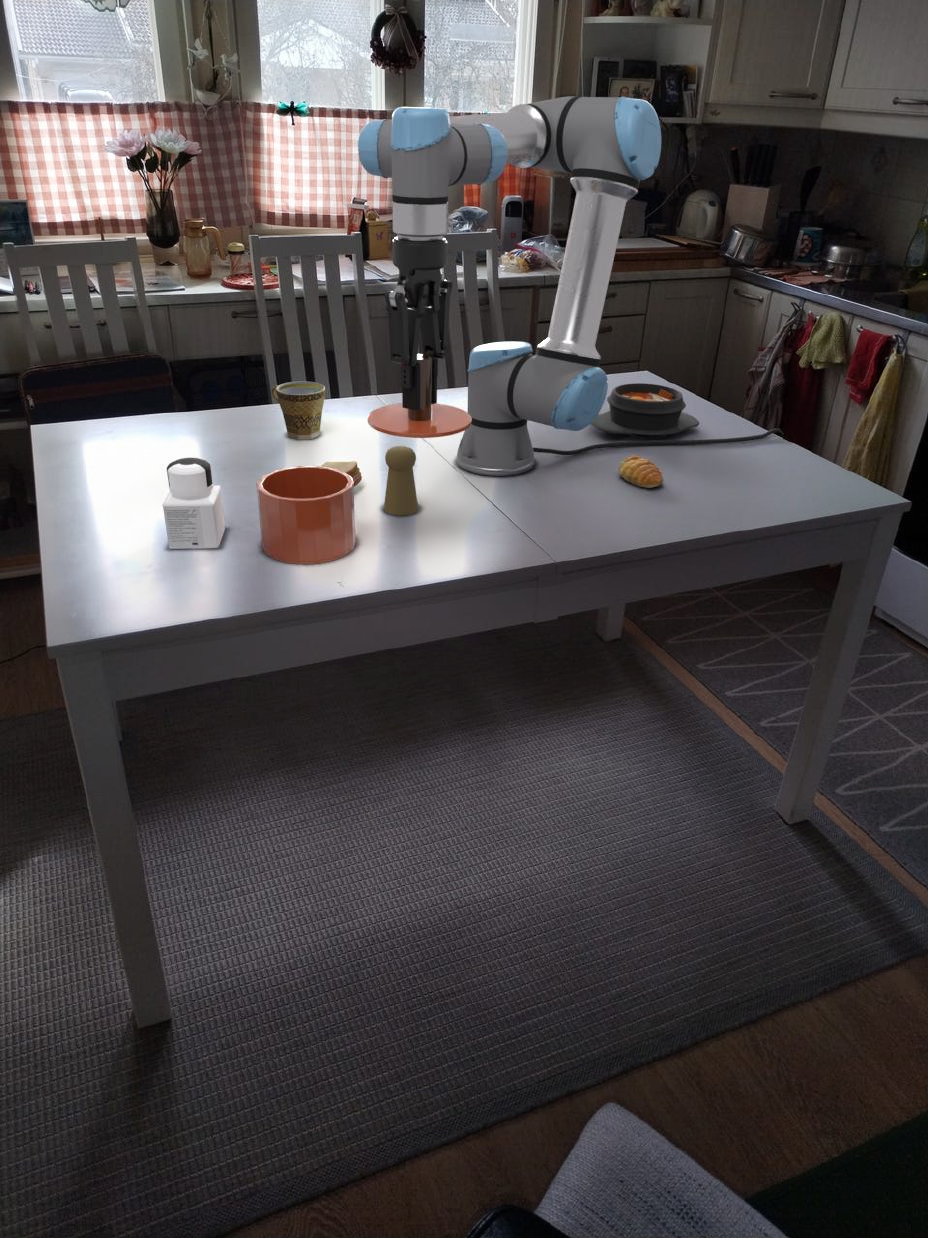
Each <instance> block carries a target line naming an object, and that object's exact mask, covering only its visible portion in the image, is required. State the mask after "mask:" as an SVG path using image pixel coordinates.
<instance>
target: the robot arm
mask: <svg viewBox="0 0 928 1238" xmlns="http://www.w3.org/2000/svg"><path fill="white" fill-rule="evenodd" d="M357 151H358V153H357V155H358V159H359V162H360V164H361V166H362V167H363V169H364V170H365V172H367V173H368V174H369V175H372V176H376V177H382V178H383V179H389V178H390V179H391V186H392V187H391V189H392V190H391V191H392V193H391V194H392V195H391V198H392V233H394V234H396V236H394V238H393V239H392V264H393V266H394V267H396V268H397V269H398V277H397V282H396V283H397V284H396V285H397V287H395V288H394V290H386V291H385V292H384V299H385V303H386V306H387V312H388V313H387V315H388V317H387V319H388V333H389V334H388V337H389V356H390V357H389V359H390V361H391V362H392V363H395V364H399V365H400V385H401V403H402V408H406V409H411V410H415V411H418V410H420V365H416V363H417V354H419V353H418V352H419V341H420V337H421V347H422V354H426V355H430V356H432V404H436V403H437V404H438V375H439V359H441V360H443V359H444V358H445V357H446V353H445V352H447V350H448V348H449V329H450V327H449V326H450V309H451V308H450V306H451V296H452V291H453V288H454V283H453V281H452V280H446V279H443V276H442V272H441V270H442V269H444V268H446V267H447V265H448V240H447V239H446V238H445V237H444V236H446V235H448V233H449V187H451V186H452V187H453V186H469V185H477V186H482V185H483V184H488V183H492V182H494V181H496V180H498V178H500V176H501V175H502V174H503V173H504V171H505V168H506V165H508V164H511V165H512V166H514V167H516V168H519V169H528V168H535V169H536V168H537V169H544V170H550V171H555V172H561V173H569V174H570V180H569V183H570V184H571V185H572V188H573V189H574V191H575V194H576V195H575V199H574V203H573V204H574V205H573V210H572V215H571V218H570V224H569V229H568V235H567V238H566V239H567V240H566V244H565V250H564V254H563V259H562V263H561V269H560V274H559V279H558V285H557V290H556V294H555V298H554V302H553V303H554V304H553V309H552V314H551V319H550V324H549V329H548V334H547V337H546V339H544V340H543V341H541V342H540V343H539V344H537V346H536V351H535V354H532V353H533V351H534V350H533V346H532V344H531V343H529V342H526V341H517V340H516V341H514V340H513V341H496V342H490V343H485V344H484V343H483V344H481V345H478V346H476V347H475V346H474V348H473V349H472V350H471V351H470V353H469V359H468V360H469V361H468V362H469V363H468V369H467V413H469V415H470V416H471V418H472V423H471V426H470V427H469V428H468V429H466V430H464V431H463V434H462V437H461V439H460V441H459V444H458V448H457V453H456V463H457V465H458V466H459V468H461V469H463V470H465V471H468V472H470V473H474V474H476V475H483V476H489V477H491V476H493V477H495V476H496V477H507V476H508V477H509V476H515V475H519V474H524V473H526V472H529V471H530V470H531V469H533V467H534V465H535V453H542V454H552V455H559V456H573V455H578V454H582V453H585V452H588V451H592V450H598V449H605V448H615V447H627V446H655V445H705V444H709V445H710V444H726V443H739V442H747V441H756V440H761V439H764V438H768V437H769V436H771V435H773V434H776V433H777V434H778V435H779V436H784V435H785V434H784V432H783V431H782V430H781V429H780V428H778V427H777V428H771V429H769V430H768V431H766V432H764V433H761V434H756V435H749V436H739V437H728V438H709V439H657V440H656V439H655V440H653V439H651V440H627V441H613V442H605V443H597V444H590V445H588V446H587V445H586V446H584V447H581V448H576V449H572V450H571V449H570V450H560V449H554V448H542V447H533V443H532V440H531V435H530V433H529V429H528V421H529V422H533V423H537V424H540V425H544V426H549V427H552V428H553V429H556V430H567V431H571V432H578V431H582V430H584V429H585V428H587V427H588V426H590V425H591V422H592V421H593V420H594V419H595V418H596V417H597V415H599V414H600V412H601V411H602V408H603V406H604V404H605V401H606V399H607V394H608V387H609V384H608V376H607V373H606V372H605V371H604V370H603V369H602V368H601V367H600V365H601V360H602V356H601V355H600V353H599V352H598V349H597V348H596V343H597V339H598V334H599V330H600V325H601V320H602V316H603V312H604V308H605V307H604V306H605V302H606V297H607V292H608V288H609V283H610V278H611V274H612V271H613V265H614V261H615V256H616V250H617V248H618V242H619V238H620V233H621V228H622V223H623V219H624V214H625V210H626V205H627V203H628V202H629V200H631V199H632V198H633V197H635V196H636V195H637V194H638V193H639V187H640V183H641V181H644V180H646V179H649V178H650V177H652V176H653V174H654V173H655V170H657V168H658V165H659V162H660V157H661V151H662V130H661V124H660V120H659V117H658V114H657V112H656V110H655V108H654V106H653V105H652V104H651V103H649V102H648V101H647V100H645V99H641V98H633V97H627V96H621V97H619V96H617V97H616V96H615V97H614V96H612V97H611V96H608V97H607V96H576V95H574V96H573V95H572V96H569V95H568V96H563V97H562V96H561V97H556V98H550V99H546V100H541V101H535V102H530V103H520V104H516V105H514V106H512V107H511V108H510V109H509V110H507V111H506V112H493V113H481V114H480V113H479V114H468V115H453V116H450V114H449V112H448V110H447V109H446V108H443V107H423V106H422V107H420V106H419V107H417V106H415V107H414V106H400V107H396V108H395V110H393V112H392V115H391V120H390V119H389V118H384V119H376V120H375V119H373V120H370V121H369V122H367V123H366V124H365V125H364V126H363V127H362V129H361V131H360V133H359V136H358V140H357ZM409 356H410V357H409Z"/></svg>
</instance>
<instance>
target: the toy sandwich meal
mask: <svg viewBox="0 0 928 1238" xmlns="http://www.w3.org/2000/svg"><path fill="white" fill-rule="evenodd" d="M320 466H321V467H329V468H333V469H337V470H341V471H343V472H345V473H346V474H348V475H350V476H351V478H352V480H353V482H354V488H355V487H357V486H358V485H359V483H360V482H361V481H362V479H363V475H362V472H361V471H360V470H361V469H360V468H359V467H358V462H357V461H356V460H352V461H326V462H324V463H323V464H321V465H320Z"/></svg>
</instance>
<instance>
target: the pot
mask: <svg viewBox="0 0 928 1238" xmlns="http://www.w3.org/2000/svg"><path fill="white" fill-rule="evenodd" d="M256 493H257V504H258V506H257V507H258V515H259V526H260V536H261V537H260V538H261V545H262V550H263V552H264V553H265V554H266V555H267V556H268V557H270V558H272V559H273V560H276V561H279V562H283V563H287V564H293V565H316V564H317V565H318V564H323V563H329V562H332V561H335V560H338V559H341V558H343V557H345V556H347V555H348V554H349V553H350V552H352V551H353V550H354V548H355V545H356V540H357V539H356V537H357V535H356V511H355V487H354V482H353V480H352V478H351V476H350V475H348V474H346V473H345V472H343V471H341V470H337V469H333V468H329V467H321V465H320V466H319V465H296V466H291V467H289V466H288V467H283V468H280V469H276V470H273V471H269V472H268V473H265V474H264V475H263V476H261V477H259V480H258V481H257V482H256Z"/></svg>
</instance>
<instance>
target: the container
mask: <svg viewBox="0 0 928 1238" xmlns="http://www.w3.org/2000/svg"><path fill="white" fill-rule="evenodd" d="M166 474H167V480H168V489H169V491H168V493H167V496H166V497H165V499H164V500H163V501H164V502H162V503H163V504H162V509H163V515H164V522H165V523H164V524H165V529H166V536H167V542H168V548H169V549H170V550H188V549H189V550H190V549H192V550H193V549H194V550H195V549H196V550H197V549H198V550H199V549H200V550H201V549H219V547H220V545H221V542H222V539H223V536H224V533H225V530H226V523H225V514H224V504H223V496H222V495H223V494H222V488H221V486H220V485H213V484H214V483H213V475H212V467H211V463H209V461H207V460H205V459H203V458H199V457H182V458H178V459H176V460H173V461H171V462H170V463H169V464H168V465H167V466H166Z"/></svg>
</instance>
